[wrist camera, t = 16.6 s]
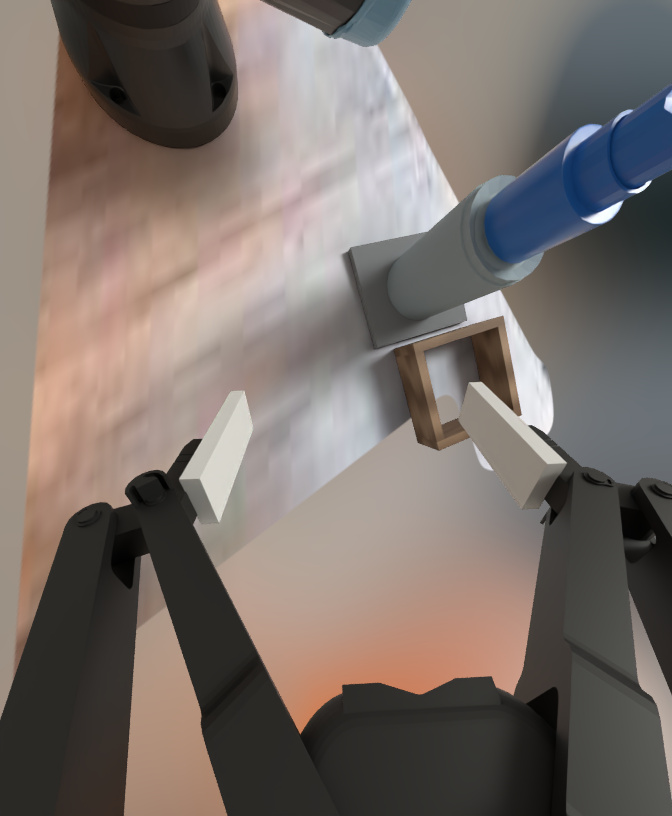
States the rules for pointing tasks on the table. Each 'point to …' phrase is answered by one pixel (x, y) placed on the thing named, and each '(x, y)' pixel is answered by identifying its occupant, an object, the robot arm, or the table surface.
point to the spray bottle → (533, 211)
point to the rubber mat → (372, 284)
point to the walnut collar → (492, 374)
